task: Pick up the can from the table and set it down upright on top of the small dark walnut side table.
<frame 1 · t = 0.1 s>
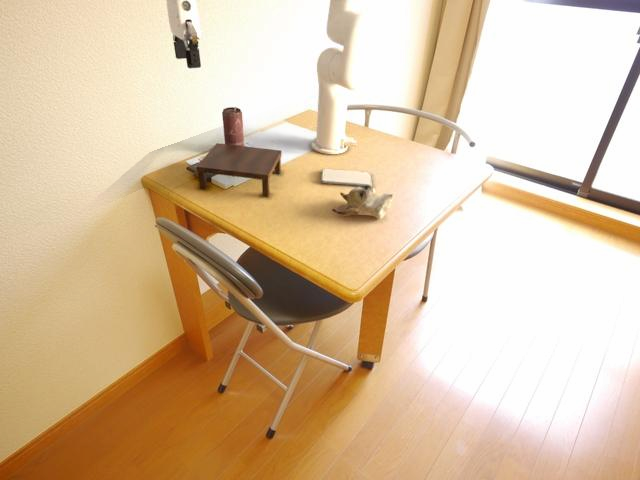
hand: (188, 62, 103), 31 cm above the table, tool pointing down, fingers open, 9 cm apart
smartphone: (346, 179, 123), on the table
can: (235, 152, 134), on the table
ceramic sculpture: (361, 214, 108), on the table
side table: (242, 179, 119), on the table
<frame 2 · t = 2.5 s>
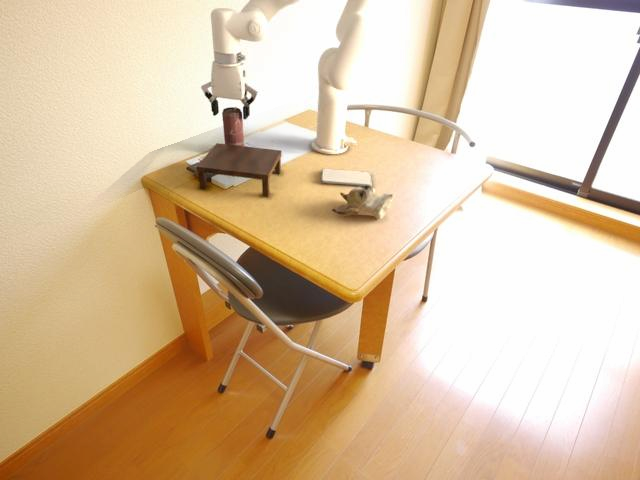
hand: (230, 116, 127), 12 cm above the table, tool pointing down, fingers open, 9 cm apart
nothing on the table moved.
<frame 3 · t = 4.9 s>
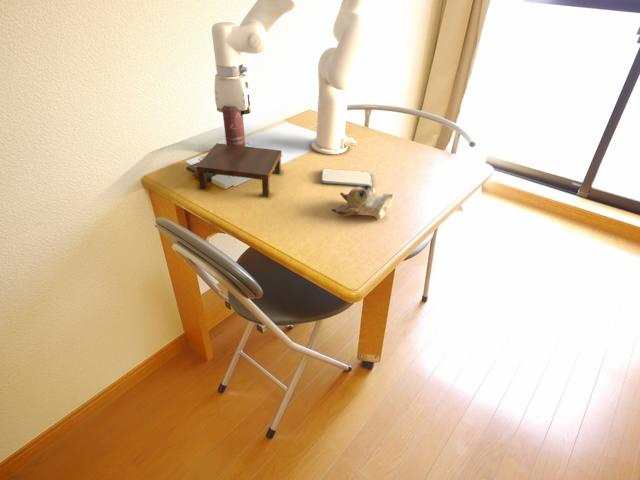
hand: (235, 130, 130), 7 cm above the table, tool pointing down, fingers closed
can: (236, 146, 133), point 2 cm above the table, touching gripper
everything else where it was.
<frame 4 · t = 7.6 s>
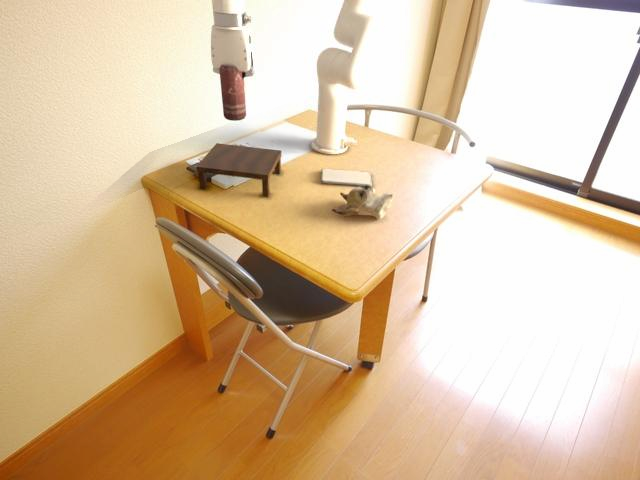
hand: (235, 97, 109), 23 cm above the table, tool pointing down, fingers closed
can: (235, 117, 112), point 17 cm above the table, touching gripper
everything else where it was.
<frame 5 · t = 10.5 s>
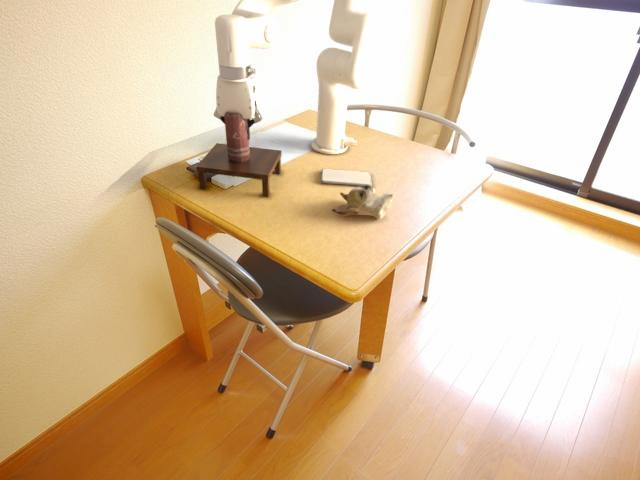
hand: (239, 140, 112), 12 cm above the table, tool pointing down, fingers closed
can: (239, 158, 115), point 7 cm above the table, touching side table
everything else where it was.
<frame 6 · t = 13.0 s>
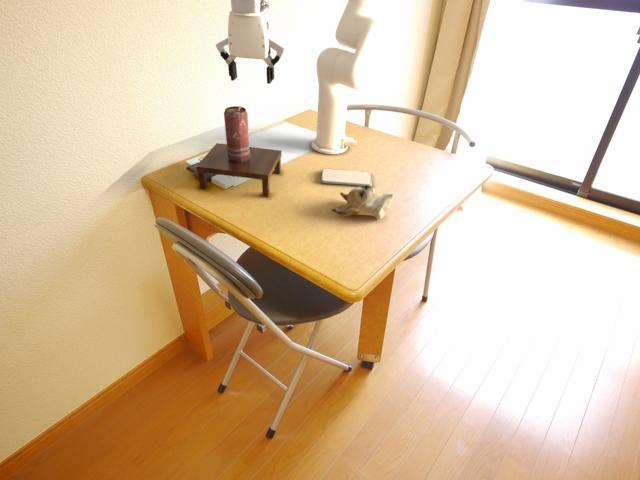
hand: (251, 80, 107), 27 cm above the table, tool pointing down, fingers open, 9 cm apart
nothing on the table moved.
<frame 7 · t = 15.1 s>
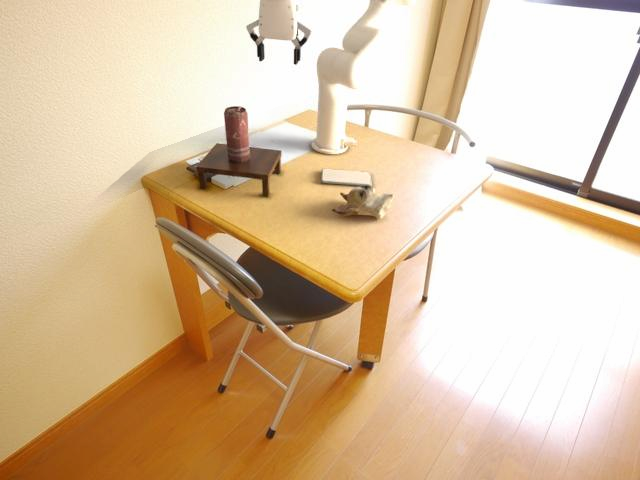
hand: (278, 61, 112), 30 cm above the table, tool pointing down, fingers open, 9 cm apart
nothing on the table moved.
at the end: can inside the target area on the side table (0.4 cm from its centre), point 6.8 cm above the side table's base; can tilted 0°; the gripper is holding nothing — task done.
